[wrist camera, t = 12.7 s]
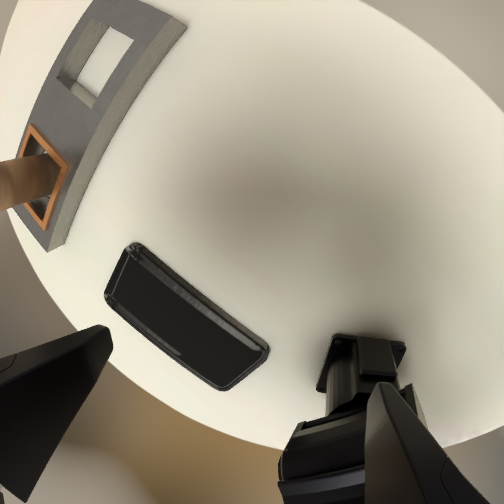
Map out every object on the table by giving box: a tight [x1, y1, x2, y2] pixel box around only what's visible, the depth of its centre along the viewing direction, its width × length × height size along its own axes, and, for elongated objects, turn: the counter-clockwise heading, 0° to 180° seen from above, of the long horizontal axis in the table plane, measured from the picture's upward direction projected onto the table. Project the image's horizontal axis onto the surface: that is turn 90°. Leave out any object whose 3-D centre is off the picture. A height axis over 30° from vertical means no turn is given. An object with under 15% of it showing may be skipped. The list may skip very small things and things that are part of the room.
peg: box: [0, 153, 61, 211], centre depth 17 cm, size 4×4×13 cm
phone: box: [104, 243, 270, 391], centre depth 25 cm, size 8×1×15 cm
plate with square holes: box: [12, 0, 187, 252], centre depth 19 cm, size 23×9×3 cm, turn 141°
